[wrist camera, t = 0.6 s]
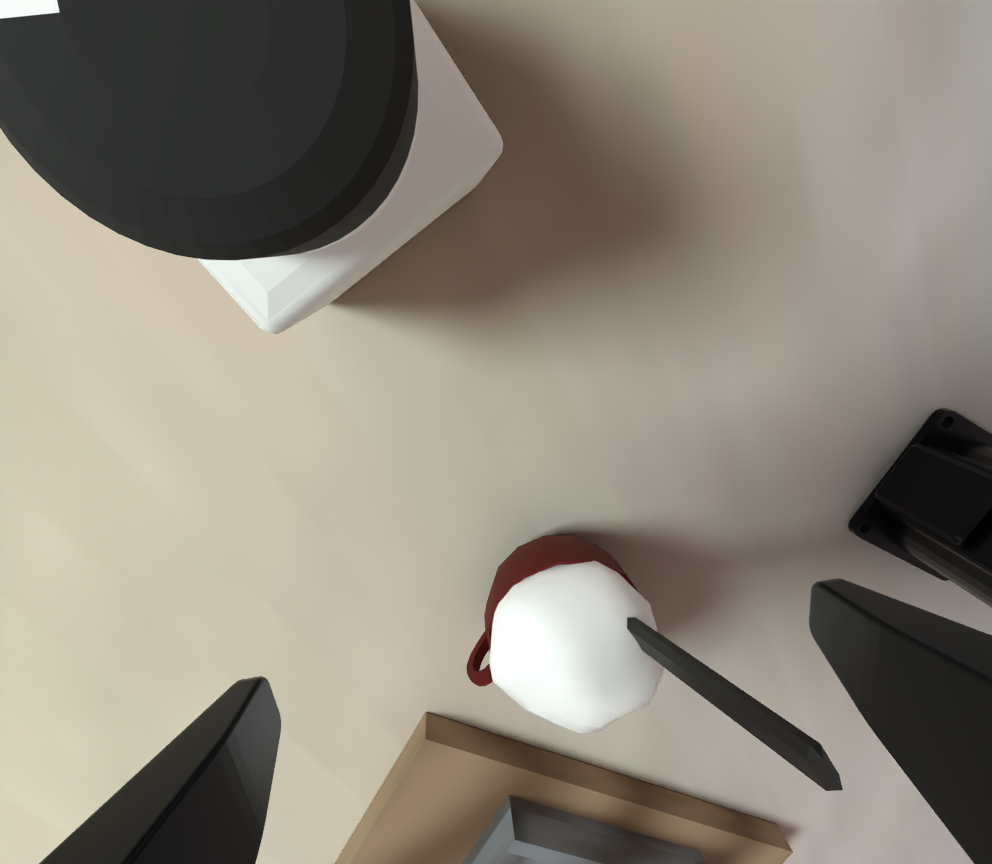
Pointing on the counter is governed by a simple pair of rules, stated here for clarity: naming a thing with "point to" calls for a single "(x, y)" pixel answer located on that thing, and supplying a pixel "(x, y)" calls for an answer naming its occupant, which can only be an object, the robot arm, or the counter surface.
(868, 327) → the counter surface
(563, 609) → the cocoa
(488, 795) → the tray stand
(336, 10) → the medicine bottle
